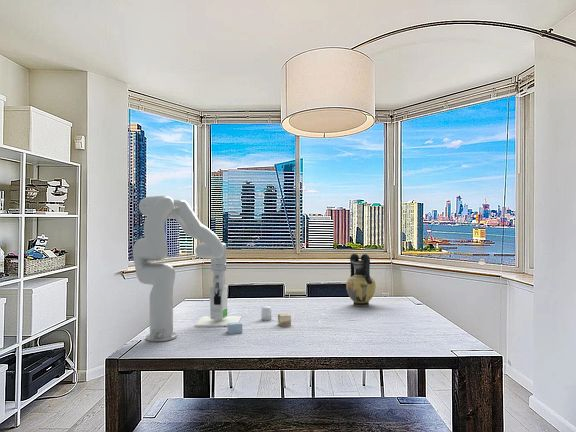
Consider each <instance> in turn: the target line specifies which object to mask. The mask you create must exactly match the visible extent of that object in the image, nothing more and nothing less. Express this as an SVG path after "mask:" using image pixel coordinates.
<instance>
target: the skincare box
mask: <svg viewBox="0 0 576 432" xmlns="http://www.w3.org/2000/svg"><path fill="white" fill-rule="evenodd" d="M214 290H215V289H214ZM218 290H220V288H219V287H218ZM220 296H221V304H220V305H214V291H213V285H212V286H210V287H209V297H210V300H209V301H210V302H209V304H210V305H209V306H210V307H209V308H210V311H209V312H210V314H209V316H210V319H216V320H222V319H224V318H226V317H227V316H228V285H225V286H224V291H223V292H222V291H220Z"/></svg>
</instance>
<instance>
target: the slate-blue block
mask: <svg viewBox="0 0 576 432" xmlns="http://www.w3.org/2000/svg"><path fill="white" fill-rule="evenodd" d="M227 333H228V334H230V333H231V334H240V333H241V334H243V323H242V321H240V322H233V323H228V326H227Z"/></svg>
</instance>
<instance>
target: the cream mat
mask: <svg viewBox="0 0 576 432" xmlns="http://www.w3.org/2000/svg"><path fill="white" fill-rule="evenodd" d="M241 319H242V315H227V317H226V318H224V319H222V320H216V319H210V315H209V316H206V315H205V316H204V315H203V316H201V317H200V318H199V320H197V322H196V323H195V324H194V328H200V327H201V328H203V327H204V328H206V327H207V328H213V327H214V328H215V327H219V328H220V327H222V328H223V327H224V326H225V327H226V328H227V327H228V323H233V322H241ZM225 327H224V328H225Z"/></svg>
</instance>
